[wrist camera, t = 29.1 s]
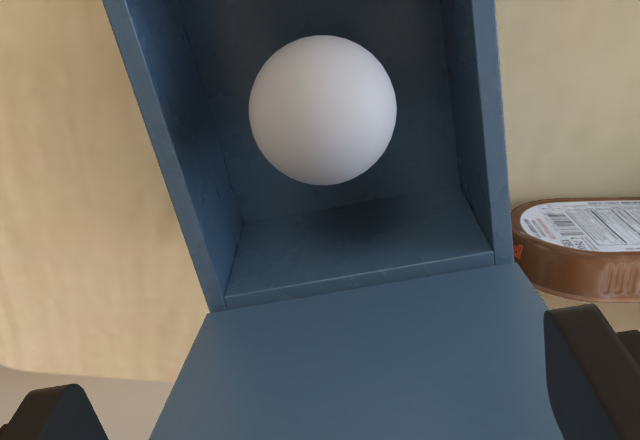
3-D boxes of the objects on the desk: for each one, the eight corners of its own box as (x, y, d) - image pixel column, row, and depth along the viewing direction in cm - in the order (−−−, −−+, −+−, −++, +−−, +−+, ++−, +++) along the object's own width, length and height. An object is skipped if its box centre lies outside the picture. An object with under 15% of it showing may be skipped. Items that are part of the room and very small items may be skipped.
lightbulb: (371, 130, 34) (389, 217, 24) (262, 118, 33) (235, 200, 24) (389, 17, 31) (418, 62, 21) (271, 2, 31) (244, 41, 21)
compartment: (153, -38, 31) (93, -23, 23) (443, -104, 29) (487, -114, 21) (235, 231, 38) (210, 315, 30) (473, 188, 36) (514, 264, 28)
